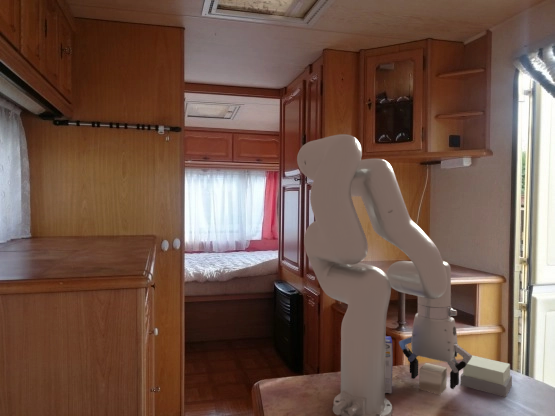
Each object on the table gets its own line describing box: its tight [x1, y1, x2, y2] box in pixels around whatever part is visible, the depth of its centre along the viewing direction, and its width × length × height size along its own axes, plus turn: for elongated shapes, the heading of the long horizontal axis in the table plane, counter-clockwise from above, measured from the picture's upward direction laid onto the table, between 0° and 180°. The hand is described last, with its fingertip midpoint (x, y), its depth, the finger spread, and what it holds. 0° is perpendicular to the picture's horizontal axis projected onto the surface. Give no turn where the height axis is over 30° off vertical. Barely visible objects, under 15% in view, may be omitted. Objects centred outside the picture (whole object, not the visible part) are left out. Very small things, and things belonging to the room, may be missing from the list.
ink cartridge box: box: [385, 335, 393, 394], centre depth 101 cm, size 10×6×14 cm, turn 78°
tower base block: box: [460, 372, 513, 398], centre depth 102 cm, size 8×10×3 cm
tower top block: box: [462, 354, 511, 385], centre depth 102 cm, size 7×9×3 cm
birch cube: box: [418, 362, 448, 396], centre depth 100 cm, size 5×5×5 cm
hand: (433, 381), depth 101 cm, fingers open, 8 cm apart
